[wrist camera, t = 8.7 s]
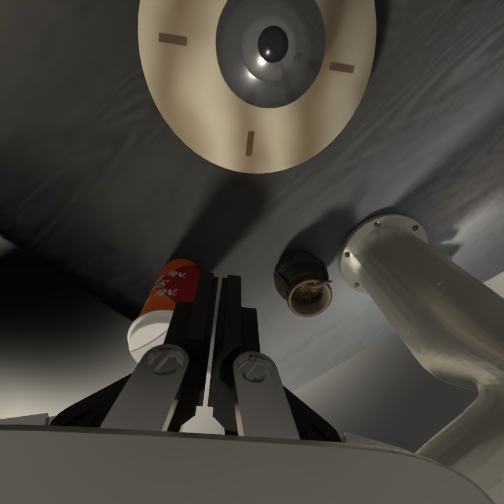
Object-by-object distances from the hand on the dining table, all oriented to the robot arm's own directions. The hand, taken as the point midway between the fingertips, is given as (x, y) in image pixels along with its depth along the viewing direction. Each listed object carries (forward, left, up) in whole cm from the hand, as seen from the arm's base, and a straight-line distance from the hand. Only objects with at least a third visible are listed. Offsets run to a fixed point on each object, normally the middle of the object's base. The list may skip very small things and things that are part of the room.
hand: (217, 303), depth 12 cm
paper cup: (+4, +15, -27) cm, 31 cm away
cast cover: (-3, -12, -23) cm, 26 cm away
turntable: (-3, -12, -25) cm, 28 cm away
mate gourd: (-12, +12, -27) cm, 31 cm away
